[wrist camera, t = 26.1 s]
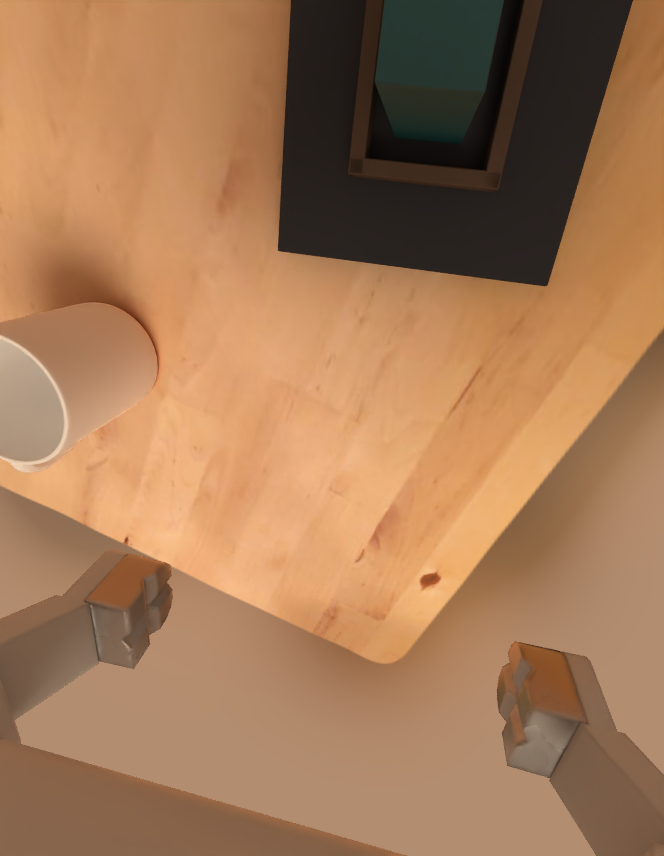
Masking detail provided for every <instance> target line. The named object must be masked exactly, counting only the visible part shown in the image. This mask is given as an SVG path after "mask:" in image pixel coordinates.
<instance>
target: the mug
mask: <svg viewBox="0 0 664 856" xmlns="http://www.w3.org/2000/svg"><path fill="white" fill-rule="evenodd" d="M157 369H158V365H157V356H156V352H155V349H154V346H153V344H152V341H151V339H150V337H149V336H148V334H147V333H146V331H145V330H144V328H143V327H142V326H141V325H140V324H139V323H138V322H137V321H136V320H135V319H134V318H133V317H132V316H131V315H129V314H128V313H126V312H125V311H123V310H121V309H119V308H117V307H115V306H112V305H109V304H106V303H99V302H88V303H80V304H75V305H71V306H67V307H63V308H59V309H54V310H50V311H46V312H42V313H38V314H34V315H30V316H25V317H21V318H17V319H13V320H9V321H5V322H0V459H2V460H5V461H8V462H9V463H10V464H11V466H12V467H13V468H15V469H16V470H18V471H21V472H25V473H33V472H39V471H42V470H44V469H46V468H48V467H50V466H52V465H53V464H55V463H56V462H58V461H59V460H60V459H62V458H63V457H64V456H65V455H66V454H67V453H68V452H69V451H70V450H71V449H72V448H73V447H74V446H75V445H76V443H77V442H79V441H81V440H82V439H84V438H85V437H87V436H88V435H90V434H92V433H93V432H95V431H96V430H98V429H99V428H101V427H103V426H104V425H106V424H107V423H109V422H110V421H112V420H114V419H115V418H117V417H118V416H120V415H121V414H123V413H124V412H126V411H128V410H129V409H131V408H132V407H134V406H135V405H137V404H138V403H139V402H141V401H142V400H143V399H144V398H145V397H146V396H147V395H148V394H149V393H150V391H151V390H152V388H153V386H154V384H155V381H156V377H157Z"/></svg>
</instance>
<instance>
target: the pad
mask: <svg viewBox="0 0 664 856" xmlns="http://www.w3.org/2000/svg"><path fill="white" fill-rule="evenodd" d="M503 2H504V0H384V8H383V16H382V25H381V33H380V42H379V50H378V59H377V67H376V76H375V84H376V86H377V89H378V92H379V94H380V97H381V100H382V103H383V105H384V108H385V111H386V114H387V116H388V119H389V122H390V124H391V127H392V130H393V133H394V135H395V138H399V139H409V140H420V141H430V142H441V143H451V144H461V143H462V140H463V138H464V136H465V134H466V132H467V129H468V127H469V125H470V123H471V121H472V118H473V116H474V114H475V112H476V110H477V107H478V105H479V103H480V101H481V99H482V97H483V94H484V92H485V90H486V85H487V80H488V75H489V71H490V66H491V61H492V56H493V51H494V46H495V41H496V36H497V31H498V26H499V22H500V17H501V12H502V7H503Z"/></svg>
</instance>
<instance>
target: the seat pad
mask: <svg viewBox="0 0 664 856" xmlns="http://www.w3.org/2000/svg"><path fill="white" fill-rule="evenodd" d="M632 1H633V0H504V2H503V7H502V12H501V17H500V22H499V26H498V31H497V36H496V41H495V46H494V51H493V56H492V61H491V66H490V71H489V75H488V80H487V85H486V90H485V92H484V94H483V97H482V99H481V101H480V103H479V105H478V107H477V110H476V112H475V114H474V116H473V118H472V121H471V123H470V125H469V127H468V129H467V132H466V134H465V136H464V138H463V140H462V143H461V144H451V143H441V142H430V141H420V140H409V139H399V138H395V135H394V133H393V130H392V127H391V124H390V122H389V119H388V116H387V114H386V111H385V108H384V105H383V103H382V100H381V97H380V94H379V92H378V89H377V86H376V84H375V76H376V67H377V59H378V50H379V42H380V33H381V25H382V16H383V8H384V0H291V14H290V33H289V52H288V71H287V90H286V108H285V127H284V146H283V165H282V184H281V203H280V222H279V241H278V251H282V252H290V253H297V254H305V255H312V256H320V257H327V258H335V259H343V260H350V261H358V262H365V263H373V264H380V265H388V266H396V267H403V268H411V269H418V270H426V271H433V272H441V273H448V274H456V275H464V276H471V277H479V278H486V279H494V280H501V281H509V282H517V283H524V284H532V285H539V286H547V285H548V282H549V279H550V275H551V272H552V269H553V265H554V262H555V259H556V255H557V252H558V249H559V245H560V242H561V239H562V235H563V232H564V229H565V225H566V222H567V219H568V215H569V212H570V209H571V205H572V202H573V199H574V195H575V192H576V189H577V185H578V182H579V179H580V175H581V172H582V168H583V165H584V162H585V158H586V155H587V152H588V148H589V145H590V142H591V138H592V135H593V132H594V128H595V125H596V122H597V118H598V115H599V112H600V108H601V105H602V102H603V98H604V95H605V92H606V88H607V85H608V82H609V78H610V75H611V72H612V68H613V65H614V62H615V58H616V55H617V52H618V48H619V45H620V42H621V38H622V35H623V31H624V28H625V25H626V21H627V18H628V15H629V11H630V8H631V5H632Z"/></svg>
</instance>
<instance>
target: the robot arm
mask: <svg viewBox="0 0 664 856" xmlns="http://www.w3.org/2000/svg"><path fill="white" fill-rule="evenodd" d="M170 577H171V566H170V565H169V564H168V563H165V562H161V561H157V560H153V559H149V558H145V557H141V556H137V555H133V554H128V553H124V552H119V551H116V550H112V549H111V550H109V551H107V552H105V553H104V554H103V555H102V556H101V557H100V558H99V559H98V560H97V561H96V562H95V563H94V564H93V565H92V566H91V567H90V568H89V569H88V570H87V571H86V572H85V573H84V574H83V575H82V576H81V577H80V579H78V580H77V581H76V582H75V583H74V584H73V585H72V586H71V588H70V589H69V590H68V591H67V592H66V593H65V594H64V595H63V596H58V595H56V596H53V597H51V598H48V599H46V600H44V601H41V602H39V603H37V604H34V605H32V606H30V607H27V608H25V609H23V610H20V611H18V612H16V613H13V614H11V615H9V616H7V617H4V618H2V619H0V856H406V855H402V854H398V853H395V852H392V851H388V850H385V849H381V848H378V847H375V846H371V845H368V844H364V843H361V842H357V841H354V840H351V839H347V838H343V837H340V836H337V835H333V834H330V833H326V832H323V831H320V830H316V829H313V828H309V827H306V826H302V825H299V824H296V823H292V822H288V821H285V820H282V819H278V818H274V817H271V816H268V815H264V814H261V813H257V812H254V811H250V810H247V809H244V808H240V807H237V806H233V805H230V804H226V803H223V802H219V801H216V800H212V799H208V798H205V797H202V796H198V795H195V794H192V793H188V792H185V791H181V790H178V789H175V788H171V787H167V786H164V785H161V784H157V783H154V782H150V781H147V780H143V779H140V778H137V777H133V776H130V775H126V774H122V773H119V772H116V771H112V770H109V769H105V768H102V767H98V766H95V765H92V764H88V763H85V762H81V761H78V760H75V759H71V758H68V757H64V756H61V755H57V754H54V753H50V752H47V751H43V750H40V749H37V748H33V747H30V746H26V745H23V744H21V740H20V736H19V733H18V730H17V726H16V723H15V719H17V718H18V717H20V716H21V715H23V714H24V713H26V712H27V711H29V710H30V709H32V708H33V707H35V706H36V705H38V704H39V703H41V702H42V701H44V700H45V699H47V698H48V697H50V696H51V695H52V694H54V693H56V692H57V691H59V690H60V689H61V688H63V687H64V686H66V685H67V684H69V683H70V682H72V681H73V680H75V679H76V678H77V677H79V676H81V675H82V674H84V673H85V672H87V671H88V670H90V669H91V668H92V667H94V666H95V665H97V664H98V663H99V661H101V662H105V663H110V664H114V665H118V666H123V667H127V668H132V669H134V668H135V666H136V665H137V663H138V662H139V660H140V659H141V657H142V656H143V654H144V653H145V651H146V650H147V648H148V647H149V645H150V641H149V635H150V634H152V633H154V632H155V631H157V630H159V629H160V628H161V627H162V625H163V623H164V622H165V620H166V618H167V616H168V613H169V610H170V608H171V603H172V598H173V596H172V588H171V587H170V586H169V584H168V583H167V581H168V580H169V578H170ZM508 655H509V661H510V663H508V664H506V665H504V666H503V667H502V669H501V672H500V676H499V680H498V687H497V700H498V708H499V713H500V714H501V715H502V717H503V718H504V720H505V721H506V725H505V727H504V730H503V732H502V736H503V742H504V748H505V755H506V761H507V766H510V767H513V768H517V769H520V770H524V771H527V772H530V773H534V774H538V775H541V776H545V777H548V778H550V782H551V784H552V785H553V787H554V788H555V790H556V792H557V793H558V795H559V797H560V798H561V800H562V801H563V803H564V805H565V806H566V808H567V809H568V811H569V812H570V814H571V816H572V817H573V819H574V820H575V822H576V824H577V825H578V827H579V828H580V830H581V832H582V833H583V835H584V836H585V838H586V840H587V841H588V843H589V844H590V846H591V848H592V849H593V851H594V853H595V854H596V856H664V775H663V774H662V773H661V772H660V770H659V769H658V768H657V767H656V766H655V765H654V764H653V763H652V762H651V761H650V760H649V759H648V758H647V757H646V756H645V754H644V753H643V752H642V751H641V750H640V749H639V748H638V747H637V746H636V745H635V744H634V743H633V742H632V741H631V740H630V738H628V736H627V735H626V734H624V733H621V732H617V729H616V727H615V724H614V722H613V719H612V716H611V714H610V712H609V709H608V706H607V703H606V701H605V698H604V696H603V693H602V690H601V688H600V685H599V683H598V680H597V677H596V674H595V672H594V669H593V667H592V664H591V662H590V660H589V659H588V658H587V657H585V656H580V655H575V654H571V653H566V652H560V651H557V650H553V649H548V648H543V647H539V646H534V645H530V644H525V643H520V642H516V641H515V642H514V643H513V644H512V645H511V647H510V649H509V652H508Z"/></svg>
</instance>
